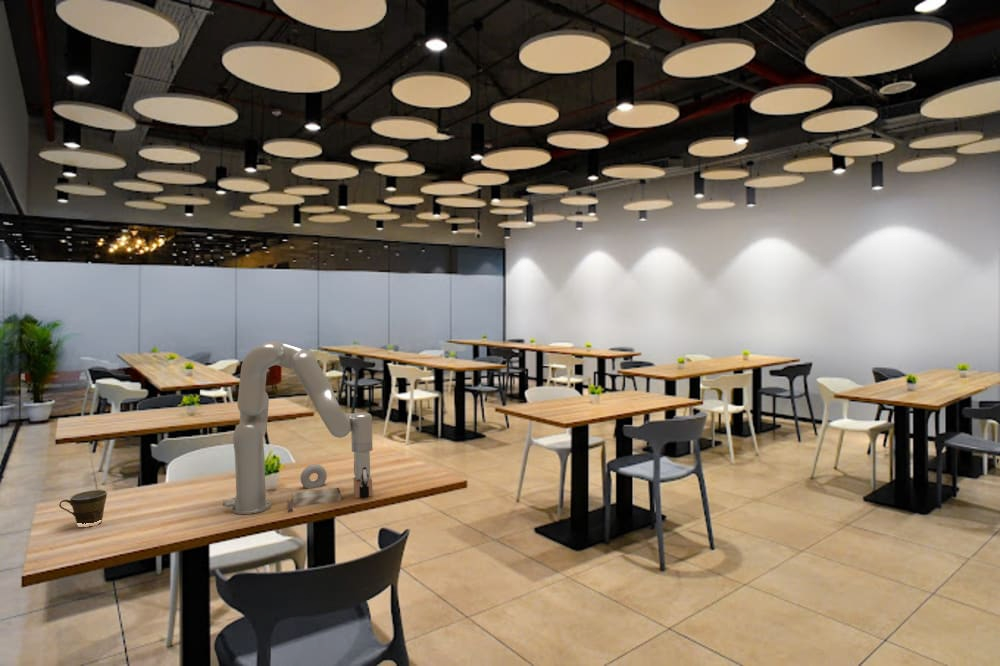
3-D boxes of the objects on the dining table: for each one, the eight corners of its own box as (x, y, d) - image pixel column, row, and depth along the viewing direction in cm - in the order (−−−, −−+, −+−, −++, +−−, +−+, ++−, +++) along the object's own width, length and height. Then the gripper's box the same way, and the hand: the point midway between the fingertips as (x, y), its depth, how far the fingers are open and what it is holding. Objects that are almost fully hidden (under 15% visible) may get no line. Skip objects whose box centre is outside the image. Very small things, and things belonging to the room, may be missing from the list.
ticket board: (288, 512, 202) (287, 500, 202) (287, 503, 211) (287, 492, 211) (391, 498, 215) (391, 487, 215) (386, 491, 224) (386, 480, 224)
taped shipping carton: (355, 498, 212) (355, 481, 212) (353, 493, 218) (353, 477, 217) (372, 496, 214) (372, 479, 214) (370, 491, 220) (369, 475, 220)
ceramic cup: (110, 517, 200) (108, 488, 199) (105, 526, 191) (104, 496, 190) (63, 523, 194) (62, 494, 193) (57, 534, 185) (55, 503, 184)
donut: (301, 493, 223) (301, 467, 222) (299, 490, 226) (299, 465, 225) (328, 488, 228) (327, 463, 228) (325, 486, 231) (325, 461, 231)
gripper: (348, 442, 222) (350, 489, 223) (354, 452, 206) (355, 502, 207) (368, 440, 225) (369, 486, 225) (376, 450, 208) (377, 500, 209)
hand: (363, 493), depth 216 cm, fingers closed on taped shipping carton, 6 cm apart
